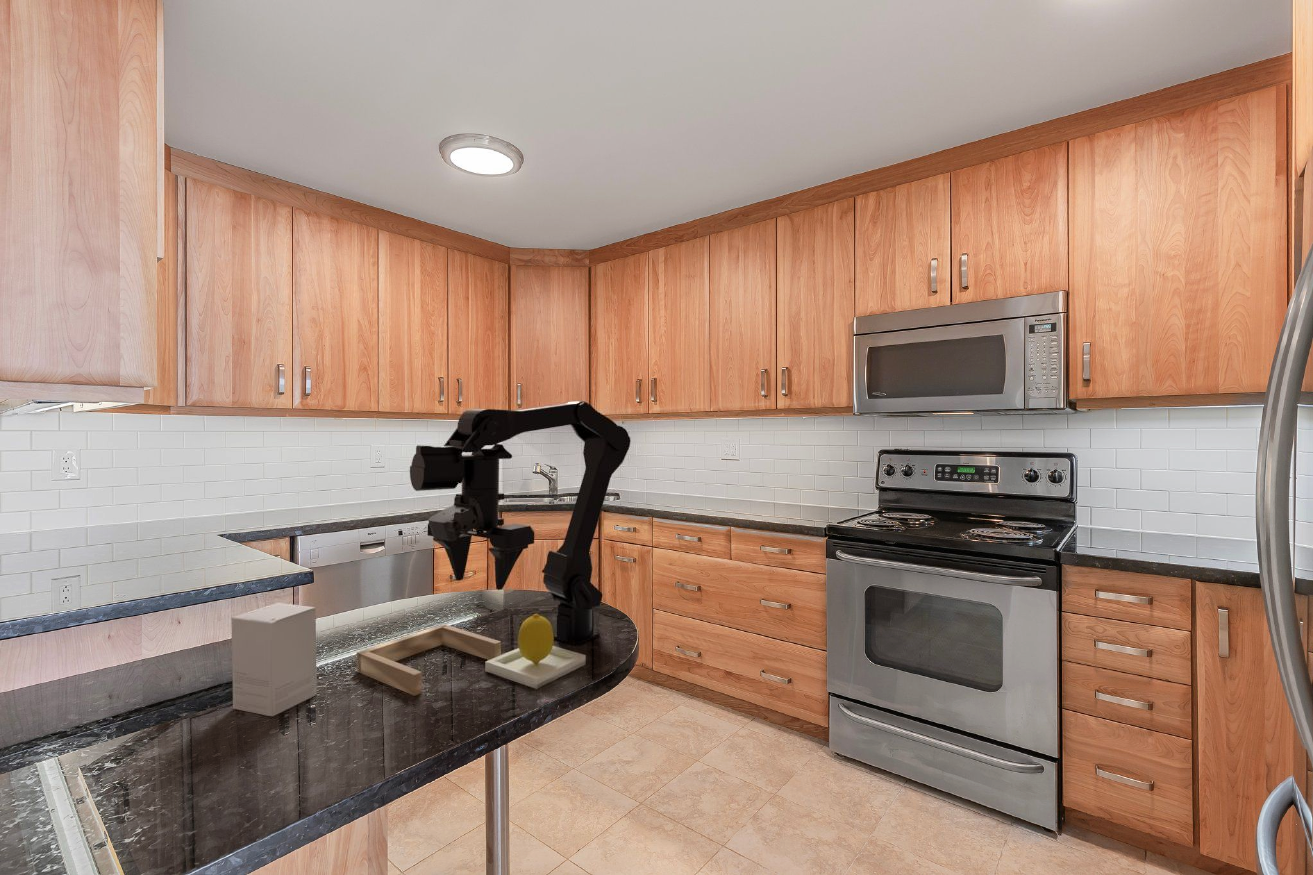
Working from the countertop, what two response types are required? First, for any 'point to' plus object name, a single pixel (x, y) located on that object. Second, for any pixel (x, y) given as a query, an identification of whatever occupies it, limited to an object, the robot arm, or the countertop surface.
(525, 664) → the dish
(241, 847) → the countertop surface
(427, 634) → the u-shaped wooden frame
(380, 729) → the countertop surface
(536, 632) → the lemon
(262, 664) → the supplement box
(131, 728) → the countertop surface
